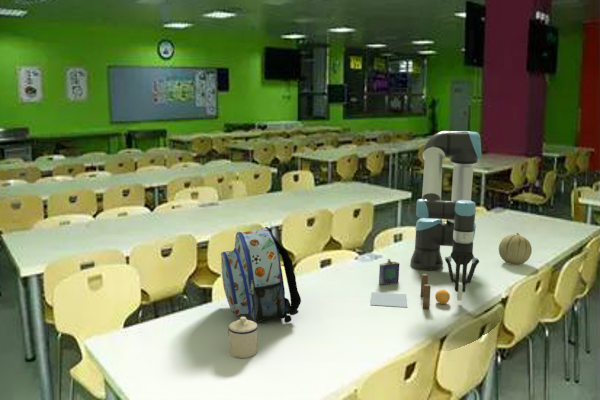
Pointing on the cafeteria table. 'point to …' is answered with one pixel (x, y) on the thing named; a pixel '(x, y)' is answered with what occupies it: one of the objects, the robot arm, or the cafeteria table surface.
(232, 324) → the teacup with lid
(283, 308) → the backpack
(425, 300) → the post
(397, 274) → the flask
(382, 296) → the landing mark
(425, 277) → the post
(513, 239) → the cantaloupe
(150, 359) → the cafeteria table surface
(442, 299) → the ball
